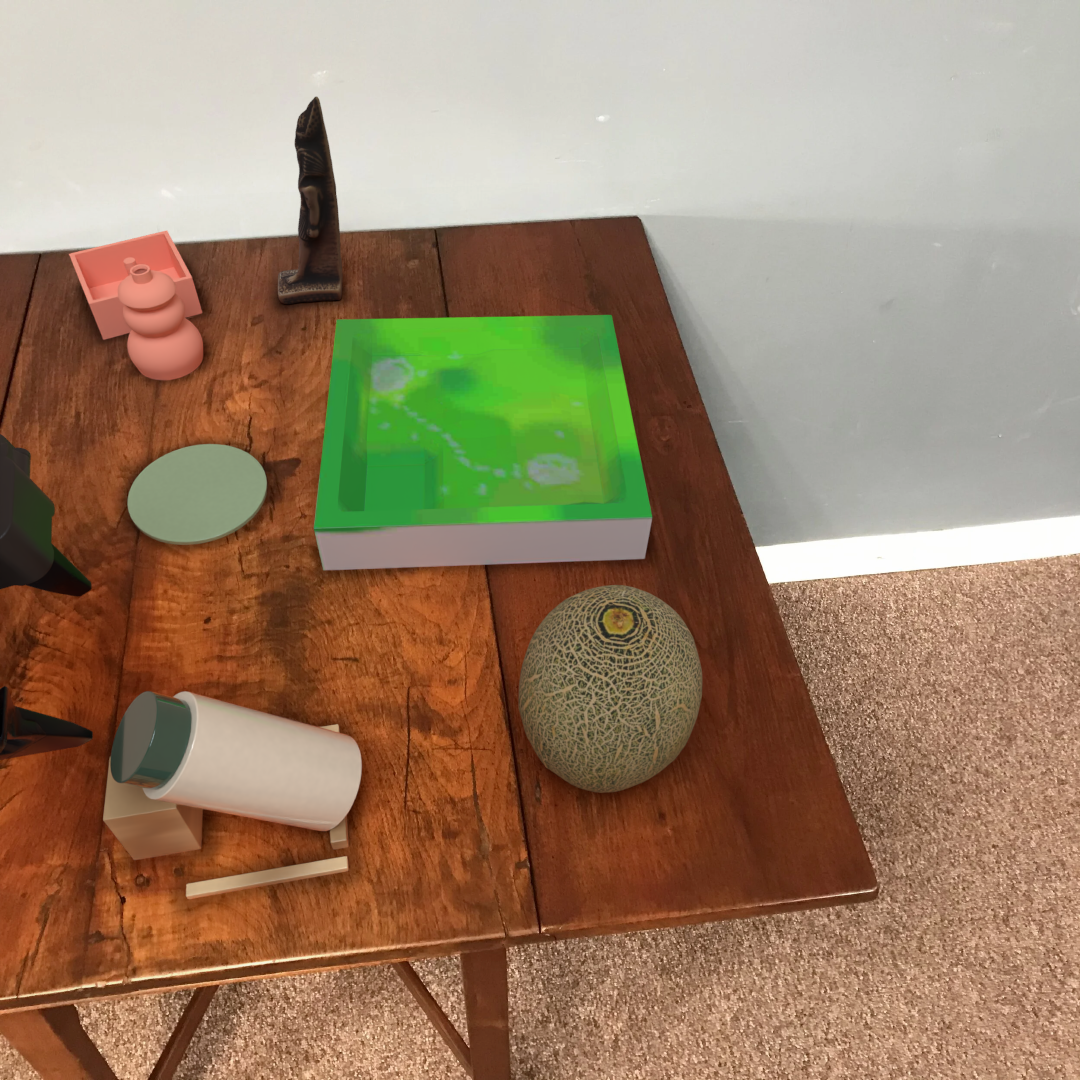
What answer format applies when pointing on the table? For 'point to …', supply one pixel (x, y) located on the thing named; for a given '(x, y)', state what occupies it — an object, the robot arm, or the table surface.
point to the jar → (236, 760)
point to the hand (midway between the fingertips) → (86, 661)
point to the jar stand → (196, 838)
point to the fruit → (610, 688)
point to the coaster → (197, 494)
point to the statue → (314, 217)
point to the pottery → (144, 302)
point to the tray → (478, 445)
